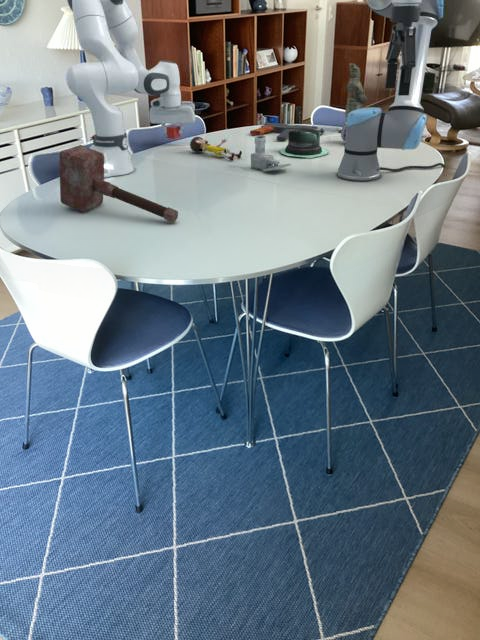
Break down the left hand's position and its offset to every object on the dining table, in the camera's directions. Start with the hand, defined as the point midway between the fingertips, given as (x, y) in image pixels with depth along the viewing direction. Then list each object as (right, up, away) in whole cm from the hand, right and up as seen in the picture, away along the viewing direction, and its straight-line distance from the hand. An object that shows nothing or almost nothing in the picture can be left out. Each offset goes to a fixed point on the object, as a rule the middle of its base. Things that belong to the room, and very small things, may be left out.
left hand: (173, 133), depth 249 cm
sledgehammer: (-7, -51, -76) cm, 92 cm away
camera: (+41, -26, -36) cm, 60 cm away
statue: (+85, +8, +20) cm, 88 cm away
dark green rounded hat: (+57, -13, -14) cm, 60 cm away
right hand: (+74, -19, -93) cm, 120 cm away
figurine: (+19, -15, -16) cm, 29 cm away
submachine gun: (+51, +4, +15) cm, 54 cm away
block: (0, -1, +1) cm, 2 cm away
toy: (+81, -5, -3) cm, 82 cm away
